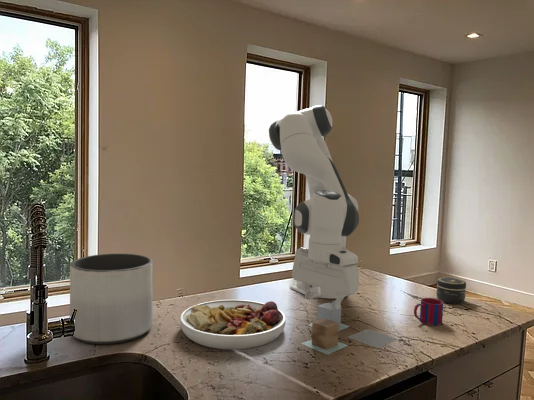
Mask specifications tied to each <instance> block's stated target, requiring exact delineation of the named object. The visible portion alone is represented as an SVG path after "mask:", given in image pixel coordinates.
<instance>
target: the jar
mask: <svg viewBox="0 0 534 400" xmlns="http://www.w3.org/2000/svg"><path fill="white" fill-rule="evenodd" d="M466 292H467V282H466V280H463V279H460V278H458V277H457V278H456V277H450V276H443V277H438V278H437V282H436V299H438V300H441V301H443V304H444V303H445V304H448V305H461V304H464V302H465V300H466Z"/></svg>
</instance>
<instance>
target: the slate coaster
mask: <svg viewBox="0 0 534 400" xmlns="http://www.w3.org/2000/svg"><path fill="white" fill-rule="evenodd" d="M347 339H351V340H354V341H357V342H360V343H361V344H365V345H367V346H370V347H372V348H376V349H378V350H379V349H380V348H382V347H384V346H387V345H390V344H391V343H392V342H395V341H398V338H396V337H393V336H390V335H387V334H384V333H381V332H379V331H375V330H372V329H369V328H366V329H364V330H361V331H359V332H356V333H354V334H351V335H349V336H348V337H347Z"/></svg>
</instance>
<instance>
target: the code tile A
mask: <svg viewBox="0 0 534 400" xmlns="http://www.w3.org/2000/svg"><path fill="white" fill-rule="evenodd" d="M300 344H301V345H303V346H306V347H308V348H310V349H313V350H315V351H317V352H320V353H322V354H325V355H327V356H328V355H330V354H332V353H335V352H337V351H339V350H341V349H343V348H346V347H347V346H349V345H348V344H346V343H343V342H341V341H338V345H336V346H334V347H332V348H329V349H327V350H325V349H323V348H320V347H318V346H315V345H313V344H312V338H311V339H310V340H307V341H304V342H301V343H300Z"/></svg>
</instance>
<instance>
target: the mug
mask: <svg viewBox="0 0 534 400" xmlns="http://www.w3.org/2000/svg"><path fill="white" fill-rule="evenodd" d="M419 307H420V310H419V316H418V313H417V312H418V308H419ZM443 312H444V302H443V301H441V300H438V298H433V297H424V298H421V299H420V303H417V304H415V306H414V309H413V315H414V317H415V319H417V320H419V322H420V321H421V322H420V323H421V324H423V325H429V326H433V327H434V326H435V327H437V326H441V325H443V317H444V315H443V314H444V313H443Z"/></svg>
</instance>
